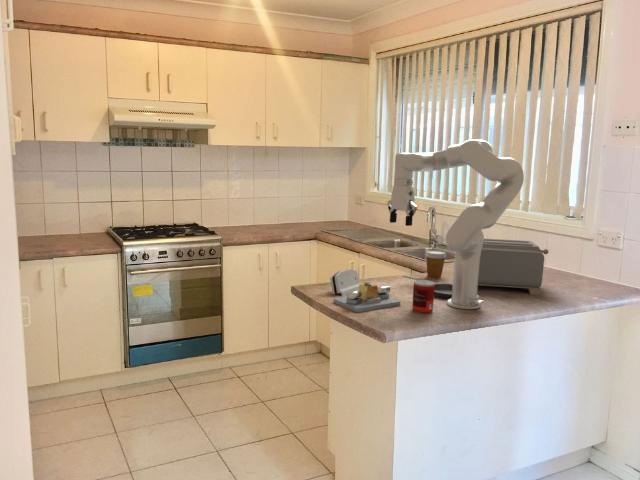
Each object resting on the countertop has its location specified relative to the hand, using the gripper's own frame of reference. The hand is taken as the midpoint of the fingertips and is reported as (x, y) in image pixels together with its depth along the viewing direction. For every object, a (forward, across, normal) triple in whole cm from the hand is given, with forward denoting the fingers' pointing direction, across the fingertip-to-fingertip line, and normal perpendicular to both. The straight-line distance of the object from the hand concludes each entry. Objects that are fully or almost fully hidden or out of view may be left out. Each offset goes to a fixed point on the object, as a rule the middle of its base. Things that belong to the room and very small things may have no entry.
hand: (400, 224), depth 236 cm
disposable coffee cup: (+28, +10, -32) cm, 44 cm away
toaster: (+29, -18, -47) cm, 58 cm away
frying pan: (+29, -9, -13) cm, 33 cm away
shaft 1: (+28, -12, +32) cm, 44 cm away
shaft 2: (+28, -11, +18) cm, 35 cm away
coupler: (+27, -11, +25) cm, 38 cm away
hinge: (+29, +9, +20) cm, 36 cm away
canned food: (+28, -28, +12) cm, 42 cm away
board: (+28, -11, +25) cm, 39 cm away
